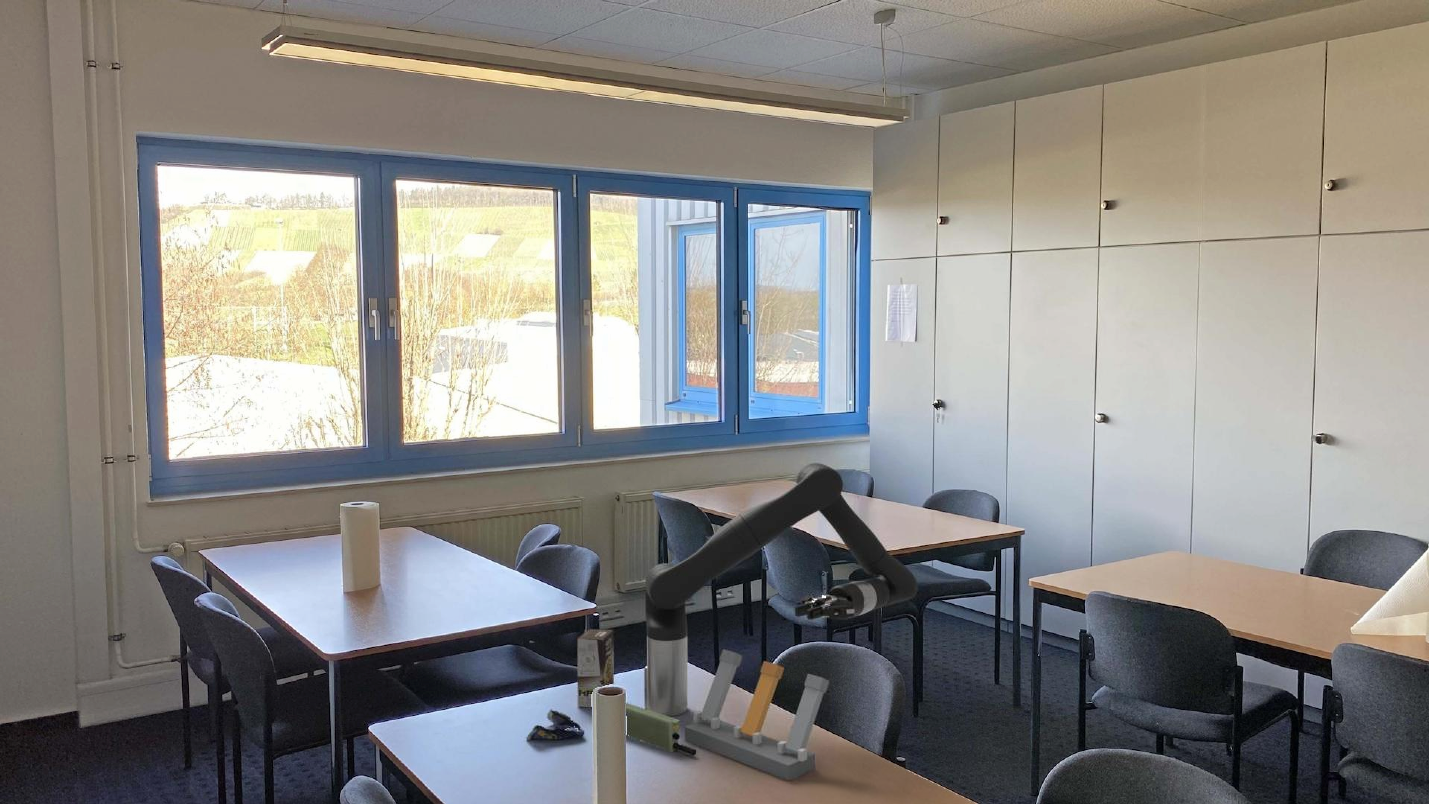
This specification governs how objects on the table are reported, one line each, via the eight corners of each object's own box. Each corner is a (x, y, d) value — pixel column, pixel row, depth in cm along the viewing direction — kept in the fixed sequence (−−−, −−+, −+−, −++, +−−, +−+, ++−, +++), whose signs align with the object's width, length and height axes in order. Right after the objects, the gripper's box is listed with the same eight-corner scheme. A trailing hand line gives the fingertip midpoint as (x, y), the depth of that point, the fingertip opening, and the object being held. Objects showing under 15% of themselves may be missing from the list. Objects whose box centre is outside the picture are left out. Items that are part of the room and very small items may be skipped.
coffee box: (603, 709, 242) (602, 639, 241) (576, 707, 244) (576, 638, 243) (615, 696, 251) (614, 629, 250) (589, 694, 253) (588, 627, 252)
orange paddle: (739, 731, 216) (763, 660, 221) (745, 733, 218) (770, 664, 222) (753, 736, 214) (778, 665, 218) (759, 739, 215) (784, 668, 220)
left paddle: (698, 716, 225) (723, 649, 229) (704, 719, 226) (729, 652, 231) (711, 721, 222) (736, 652, 227) (718, 724, 223) (742, 656, 228)
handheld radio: (617, 726, 232) (700, 756, 215) (606, 731, 230) (689, 761, 213) (615, 697, 231) (699, 724, 215) (604, 701, 229) (688, 729, 212)
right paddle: (783, 746, 208) (807, 673, 212) (789, 749, 209) (814, 676, 214) (798, 752, 205) (823, 678, 210) (804, 755, 206) (829, 681, 211)
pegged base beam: (682, 739, 223) (682, 716, 223) (709, 730, 229) (709, 707, 229) (790, 781, 202) (790, 756, 202) (817, 769, 208) (817, 744, 207)
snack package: (536, 727, 232) (520, 745, 221) (541, 699, 232) (525, 716, 220) (589, 738, 231) (575, 758, 219) (593, 710, 231) (581, 728, 219)
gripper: (828, 578, 243) (777, 590, 231) (877, 588, 233) (827, 601, 221) (827, 610, 243) (777, 624, 231) (877, 621, 233) (827, 637, 221)
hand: (802, 613), depth 226 cm, fingers open, 3 cm apart
